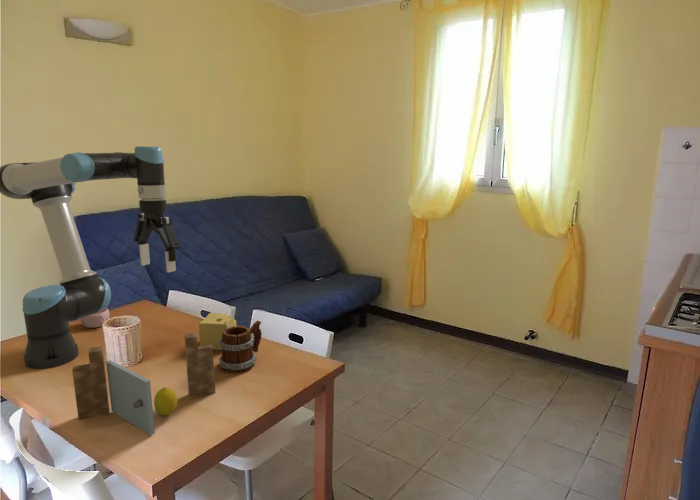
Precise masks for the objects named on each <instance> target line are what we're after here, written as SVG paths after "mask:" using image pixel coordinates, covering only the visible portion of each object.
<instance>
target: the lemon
mask: <svg viewBox="0 0 700 500" xmlns="http://www.w3.org/2000/svg"><path fill="white" fill-rule="evenodd" d="M177 405H178V396H177V394H176V392H175V390H173V389H172V388H170V387H163V388H160V389H159V390H158V391H157V392H156V393H155V395H154V400H153V406H154V408H155V409H154V410H155V411H156V413H157V414H159V415H161V416H164V417H168V416H170V415H171V414H173V412H175V410H176V409H177Z"/></svg>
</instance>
